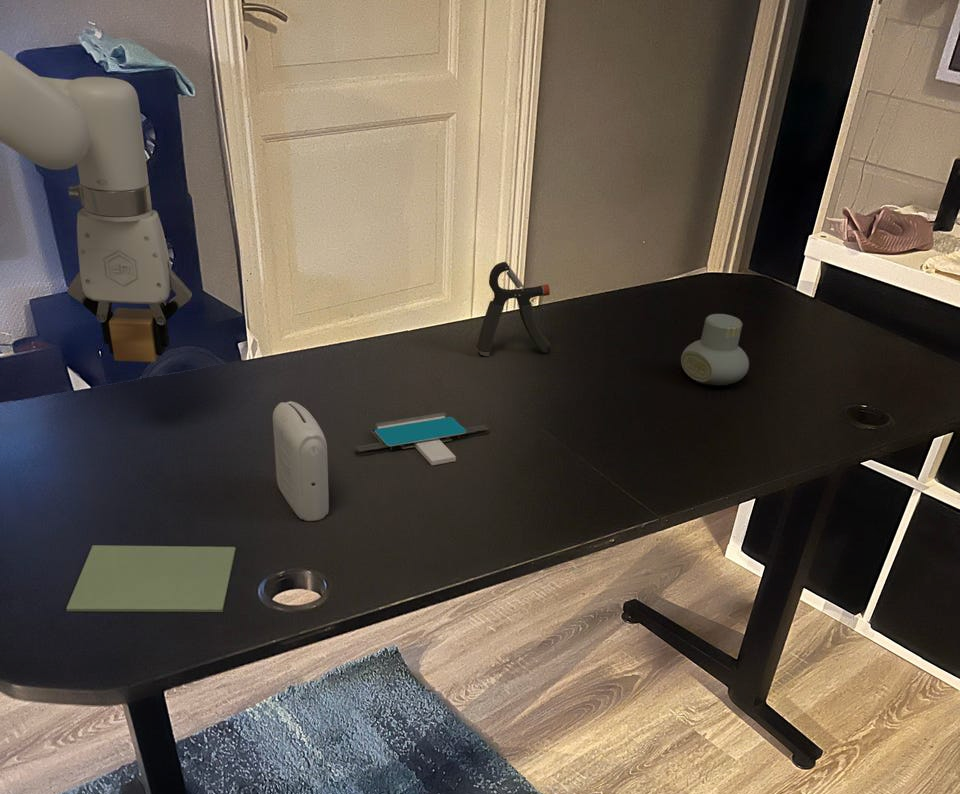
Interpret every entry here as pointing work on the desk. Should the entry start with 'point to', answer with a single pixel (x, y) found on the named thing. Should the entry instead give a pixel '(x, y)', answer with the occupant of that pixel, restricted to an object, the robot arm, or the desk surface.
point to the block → (133, 335)
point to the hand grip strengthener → (523, 303)
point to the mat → (153, 579)
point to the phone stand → (420, 436)
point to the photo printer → (301, 461)
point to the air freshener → (717, 352)
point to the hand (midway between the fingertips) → (138, 349)
